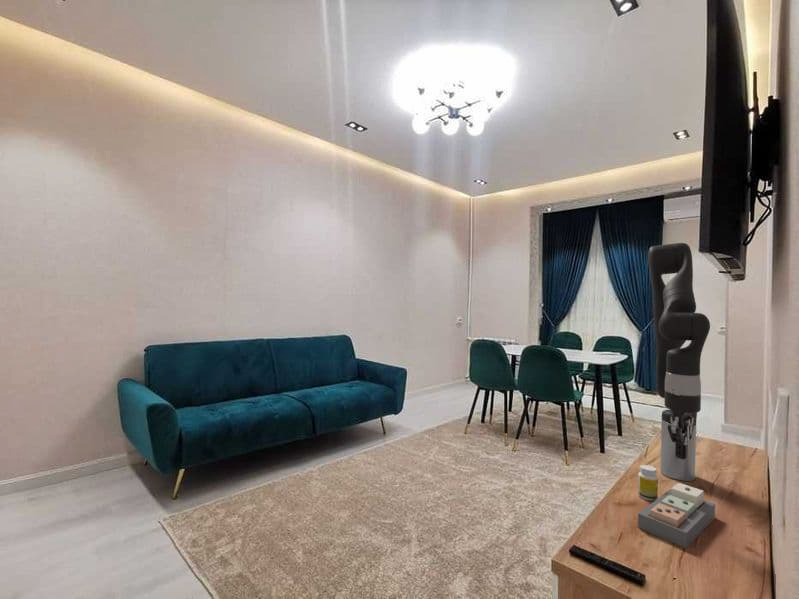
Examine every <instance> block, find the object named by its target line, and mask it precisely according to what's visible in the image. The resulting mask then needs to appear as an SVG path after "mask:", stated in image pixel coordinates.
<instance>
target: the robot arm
mask: <svg viewBox="0 0 799 599" xmlns="http://www.w3.org/2000/svg"><path fill="white" fill-rule="evenodd" d="M647 262H648V270H649V277H650V284H651V285H650V286H651V290H652V305H653V306H652V310H653V314H652V315H653V326H654V327H653V328H654V336H655V337H654V339H655V348H656V391H657V393H658V396H659V397H660V398H662V399H664V407H665V408H667V409H664V410H662V412H661V430H660V431H661V432H660V434H661V435H660V439H661V441H660V467H659V469H660V470H659V471H660V473H661V474H662V475H664V476H666V477H668V478H670V479H671V478H672V479H674V480H678V481H682V482H683V481H684V482H690V481H694V480H695V478H696V477H695V476H696V456H697V455H696V450H697V417H698V413H699V412H700V411H701V408H702V405H701V404H702V402H701V401H702V397H701V396H702V381H701V357H702V352H703V349H704V346H705V344H706V340H707V339H708V335H709V333H710V329H711V322H710V320H709V318H708V316H706V315H705V314H704V313H700V312H696V310H697V303H696V299H695V298H696V297H695V294H694V288H693V284H694V283H693V282H694V281H693V280H694V279H693V278H694V272H693V271H694V268H693V266H694V265H693V254H692V250H691V248H690V245H688V243H686V242H685V243H684V242H676V243H667V244H660V245H659V244H658V245H652V246H650V247H649V249H648V253H647ZM671 274H672V275H673V274H675V275H674V276H673V277H672V278H671V279H670V280H669V281H668V282H667V283H665V281H664V279H663V275H671ZM686 341H690V342H689V344H688V345H687V346H685V347H683V345H684V344H685V343H686Z"/></svg>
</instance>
